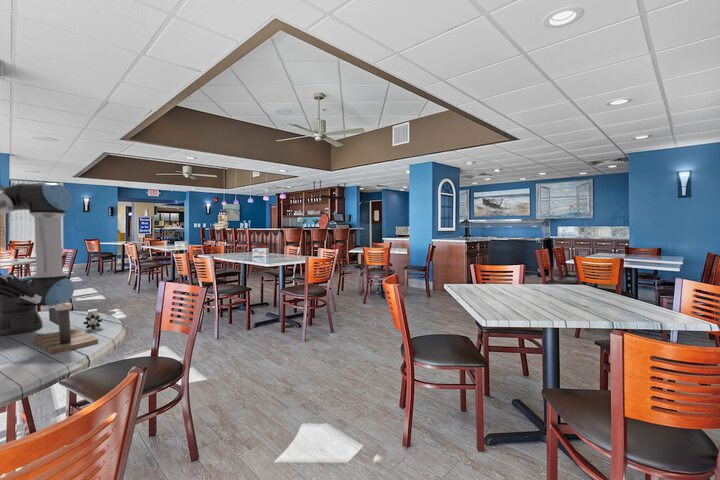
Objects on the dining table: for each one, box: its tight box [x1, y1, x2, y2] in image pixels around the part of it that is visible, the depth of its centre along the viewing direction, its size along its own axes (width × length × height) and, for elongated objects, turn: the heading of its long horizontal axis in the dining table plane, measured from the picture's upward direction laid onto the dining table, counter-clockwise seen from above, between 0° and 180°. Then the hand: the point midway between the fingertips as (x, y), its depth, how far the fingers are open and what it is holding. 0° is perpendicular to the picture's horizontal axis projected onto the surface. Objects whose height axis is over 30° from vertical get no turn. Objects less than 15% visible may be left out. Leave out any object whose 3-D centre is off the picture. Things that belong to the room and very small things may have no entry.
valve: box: [82, 308, 103, 330], centre depth 156 cm, size 7×7×12 cm
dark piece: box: [48, 302, 73, 343], centre depth 133 cm, size 22×5×15 cm, turn 55°
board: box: [32, 327, 99, 355], centre depth 135 cm, size 24×14×2 cm, turn 55°
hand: (39, 300), depth 136 cm, fingers closed
